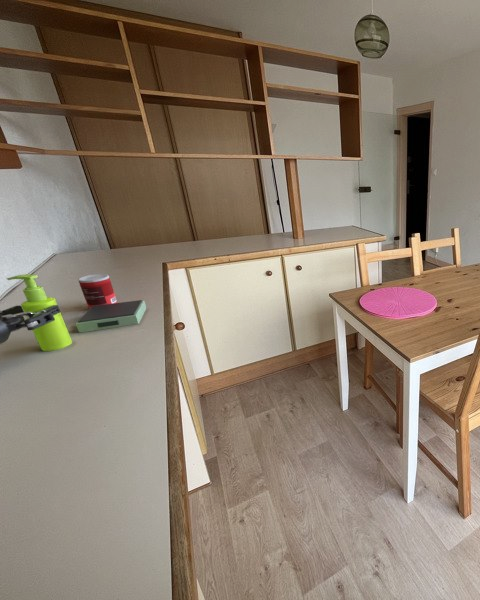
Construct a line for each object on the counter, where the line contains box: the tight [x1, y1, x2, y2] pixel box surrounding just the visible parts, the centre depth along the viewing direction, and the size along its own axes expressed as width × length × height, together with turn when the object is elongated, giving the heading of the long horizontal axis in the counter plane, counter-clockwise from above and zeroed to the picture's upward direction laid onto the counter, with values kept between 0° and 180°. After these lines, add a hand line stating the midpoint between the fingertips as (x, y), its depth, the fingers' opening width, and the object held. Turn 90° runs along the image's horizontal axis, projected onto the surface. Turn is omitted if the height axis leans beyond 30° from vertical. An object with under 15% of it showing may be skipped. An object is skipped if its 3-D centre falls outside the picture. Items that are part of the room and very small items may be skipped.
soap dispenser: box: [6, 274, 73, 352], centre depth 81 cm, size 6×7×20 cm
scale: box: [75, 299, 147, 333], centre depth 100 cm, size 14×14×3 cm
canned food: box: [77, 273, 118, 310], centre depth 108 cm, size 8×8×11 cm
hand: (39, 308), depth 81 cm, fingers open, 8 cm apart
